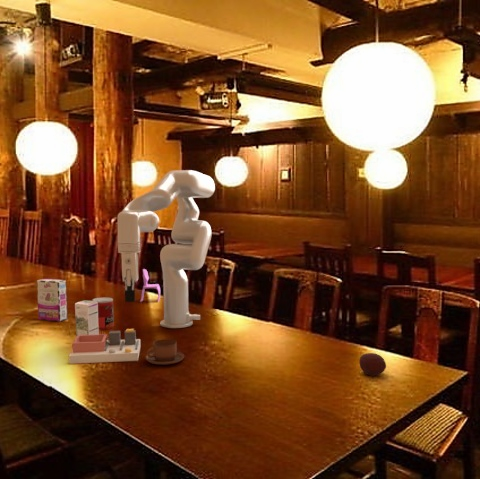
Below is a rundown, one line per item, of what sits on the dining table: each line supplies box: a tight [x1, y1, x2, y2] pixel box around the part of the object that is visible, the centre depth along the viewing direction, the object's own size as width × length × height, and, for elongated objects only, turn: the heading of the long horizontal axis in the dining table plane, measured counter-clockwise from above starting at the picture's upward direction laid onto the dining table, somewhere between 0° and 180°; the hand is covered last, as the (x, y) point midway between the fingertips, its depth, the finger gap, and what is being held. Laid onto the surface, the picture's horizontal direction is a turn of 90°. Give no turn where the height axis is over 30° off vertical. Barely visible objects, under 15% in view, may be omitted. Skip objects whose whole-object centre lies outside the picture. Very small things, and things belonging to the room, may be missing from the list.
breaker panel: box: [68, 333, 141, 364], centre depth 188 cm, size 21×16×6 cm
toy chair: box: [139, 268, 161, 303], centre depth 272 cm, size 8×9×15 cm
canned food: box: [91, 296, 115, 331], centre depth 223 cm, size 8×8×11 cm
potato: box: [358, 352, 387, 376], centre depth 168 cm, size 7×8×6 cm
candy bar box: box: [36, 278, 68, 323], centre depth 236 cm, size 11×5×16 cm, turn 68°
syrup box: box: [74, 300, 100, 338], centre depth 202 cm, size 6×6×14 cm
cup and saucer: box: [145, 338, 185, 366], centre depth 181 cm, size 12×12×6 cm
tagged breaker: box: [124, 328, 137, 345], centre depth 192 cm, size 3×3×5 cm
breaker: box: [108, 330, 122, 345], centre depth 191 cm, size 3×3×4 cm
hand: (130, 301), depth 198 cm, fingers closed
